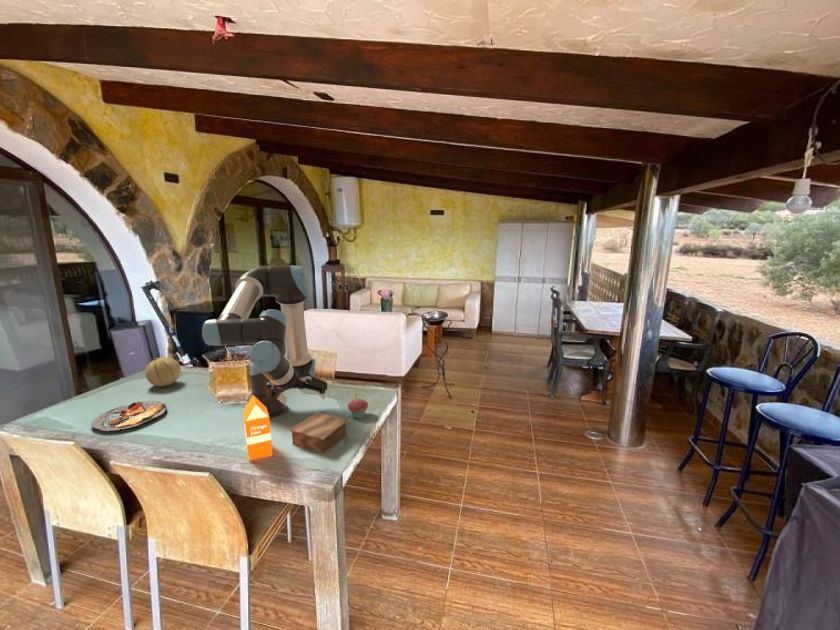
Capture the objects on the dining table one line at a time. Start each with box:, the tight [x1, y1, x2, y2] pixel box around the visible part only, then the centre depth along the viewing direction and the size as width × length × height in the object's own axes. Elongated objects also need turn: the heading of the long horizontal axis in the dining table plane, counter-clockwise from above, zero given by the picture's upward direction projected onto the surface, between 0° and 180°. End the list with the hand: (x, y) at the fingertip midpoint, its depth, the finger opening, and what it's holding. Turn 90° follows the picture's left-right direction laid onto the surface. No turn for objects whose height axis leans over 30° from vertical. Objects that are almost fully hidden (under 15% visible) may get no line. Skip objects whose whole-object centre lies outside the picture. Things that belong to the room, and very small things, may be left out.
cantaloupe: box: [144, 356, 182, 387], centre depth 192 cm, size 15×15×15 cm
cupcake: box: [347, 391, 369, 419], centre depth 162 cm, size 9×8×12 cm
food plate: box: [90, 400, 168, 432], centre depth 159 cm, size 25×23×4 cm
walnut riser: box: [289, 412, 349, 454], centre depth 144 cm, size 15×15×6 cm
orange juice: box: [242, 395, 273, 461], centre depth 134 cm, size 8×9×20 cm
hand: (304, 398), depth 135 cm, fingers open, 13 cm apart
